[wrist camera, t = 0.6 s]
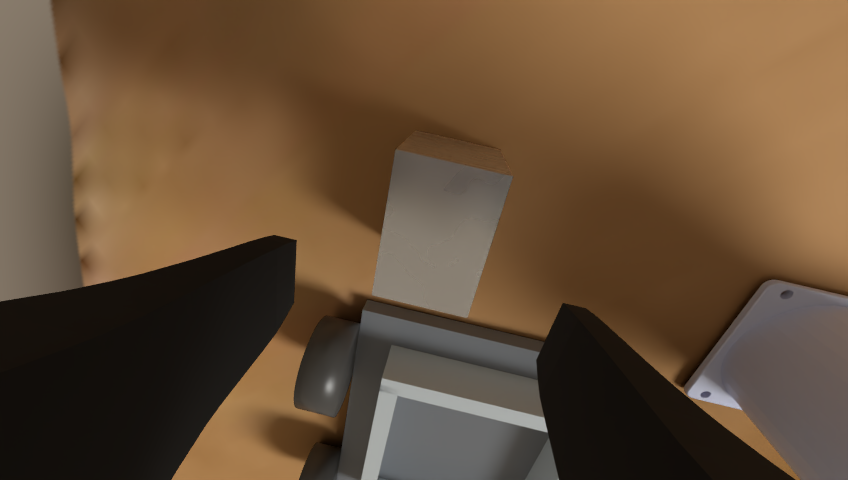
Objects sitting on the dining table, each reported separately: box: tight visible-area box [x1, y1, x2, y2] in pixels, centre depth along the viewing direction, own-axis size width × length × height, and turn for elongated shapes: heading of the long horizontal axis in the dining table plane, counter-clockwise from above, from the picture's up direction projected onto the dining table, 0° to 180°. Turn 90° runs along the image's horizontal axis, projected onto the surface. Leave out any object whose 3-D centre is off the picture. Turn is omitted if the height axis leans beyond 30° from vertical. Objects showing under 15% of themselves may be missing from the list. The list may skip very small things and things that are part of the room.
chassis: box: [294, 300, 559, 480], centre depth 22 cm, size 20×18×5 cm
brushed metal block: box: [372, 130, 513, 318], centre depth 15 cm, size 4×6×5 cm, turn 169°
